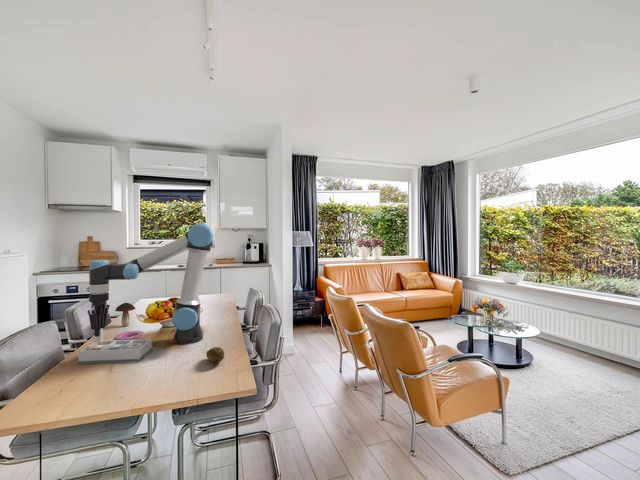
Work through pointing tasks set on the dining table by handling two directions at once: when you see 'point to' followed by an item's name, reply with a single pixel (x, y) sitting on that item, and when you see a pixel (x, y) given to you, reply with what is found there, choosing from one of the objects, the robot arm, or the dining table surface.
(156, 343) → the dining table surface
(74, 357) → the dining table surface
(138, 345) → the key ivory
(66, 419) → the dining table surface
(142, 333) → the donut
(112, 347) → the key slate
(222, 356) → the green bumpy oval piece
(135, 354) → the keypad board
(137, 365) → the dining table surface
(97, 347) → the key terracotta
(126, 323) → the decorative mushroom
